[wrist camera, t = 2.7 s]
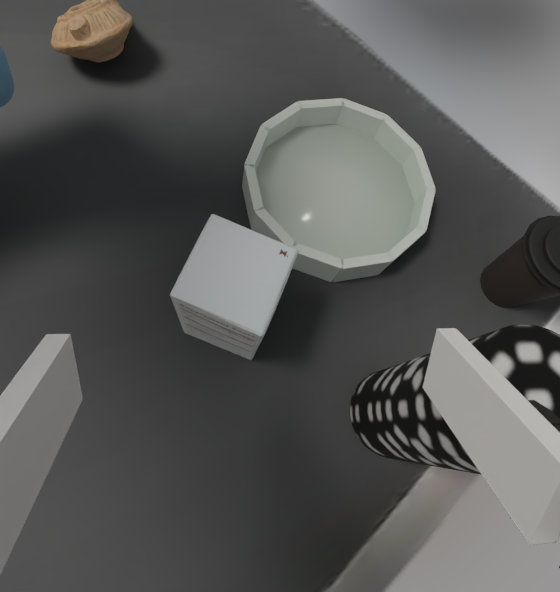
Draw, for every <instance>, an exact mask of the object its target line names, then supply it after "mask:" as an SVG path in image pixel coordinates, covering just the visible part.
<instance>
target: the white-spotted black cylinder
mask: <svg viewBox="0 0 560 592" xmlns="http://www.w3.org/2000/svg"><path fill="white" fill-rule="evenodd" d="M468 341H469V342H470V343H471V344H472V345H473V346H474V347H475V348H476V349H477V350H478V351H479V352H480V353H481V354H482V355H483V356H484V357H485V358H486V359H487V360H488V361H489V362H490V363H491V364H492V365H493V366H494V367H495V368H496V369H497V370H498V371H499V372H500V373H501V374H502V375H503V376H504V377H505V378H506V379H507V380H508V381H509V382H510V383H511V384H512V385H513V386H514V387H515V388H516V389H517V390H518V391H519V392H520V393H521V394H522V395H523V396H524V397H525V398H526V399H527V400H535V401H537V402H538V403H540V404H541V405H543V406H545V407H546V408H548V409H550V410H551V411H552V412H553V413H554V414H555V415H556V416H557V417H558V418H560V335H559V334H557V333H555V332H553V331H551V330H549V329H546V328H542V327H539V326H535V325H525V324H521V325H511V326H508V327H505V328H502V329H499V330H496V331H493V332H490V333H487V334H485V335H482V336H479V337H476V338H473V339H470V340H468ZM430 355H431V353H430V354H427V355H424V356H421V357H419V358H416V359H413V360H410V361H407V362H404V363H401V364H398V365H396V366H393V367H390V368H387V369H384V370H381V371H378V372H376V373H373V374H371V375H369V376H367V377H366V378H365V379H363V380H362V381H361V382H360V383H359V385H358V386H357V388H356V389H355V391H354V394H353V396H352V400H351V405H350V416H351V422H352V425H353V428H354V431H355V433H356V434H357V436H358V438H359V439H360V441H361V442H362V443H363V444H364V445H365V446H366V447H367V448H368V449H370V450H371V451H372V452H374V453H376V454H378V455H380V456H383V457H387V458H392V459H398V460H403V461H409V462H414V463H420V464H426V465H431V466H437V467H443V468H448V469H454V470H460V471H465V472H471V473H476V474H481V473H480V472H479V470H478V469H477V467H476V466H475V464H474V463H473V461H472V460H471V458H470V457H469V455H468V454H467V452H466V451H465V449H464V448H463V447H462V445H461V444H460V442H459V441H458V439H457V438H456V436H455V435H454V433H453V432H452V430H451V429H450V427H449V426H448V424H447V423H446V421H445V420H444V419H443V417H442V416H441V414H440V413H439V411H438V410H437V408H436V407H435V405H434V404H433V402H432V401H431V399H430V398H429V396H428V395H427V393H426V392H425V391H424V389H423V388H422V387H423V383H424V379H425V375H426V371H427V367H428V363H429V359H430Z"/></svg>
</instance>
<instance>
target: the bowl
mask: <svg viewBox="0 0 560 592" xmlns="http://www.w3.org/2000/svg"><path fill="white" fill-rule="evenodd" d="M386 115H387V114H384V113H382V112H379V111H376V110H374V109H371V108H368V107H366V106H363V105H360V104H358V103H355V102H352V101H350V100H347V99H343V98H336V99H322V100H307V101H298V102H295V103H294V104H292V105H291V106H289V107H288V108H286V109H284V110H283V111H281V112H280V113H278V114H277V115H275V116H274V117H272V118H271V119H269V120H267V121H266V122H264V123H263V124H261V126H260V128H259V130H258V133H257V135H256V138H255V140H254V142H253V145H252V147H251V149H250V152H249V154H248V157H247V159H246V161H245V164H244V173H243V183H242V189H243V193H244V198H245V203H246V208H247V212H248V217H249V222H250V227H251V229H252V230H253V231H255V232H257V233H260V234H262V235H264V236H267V237H269V238H271V239H274V240H276V241H279V242H281V243H284V244H286V245H289V246H291V247H294V248H296V249H298V250H299V253H298V255H297V257H296V260H295V262H294V265H293V267H292V269H295V270H298V271H301V272H303V273H306V274H309V275H312V276H315V277H317V278H320V279H323V280H326V281H329V282H338V281H345V280H351V279H357V278H363V277H370V276H376V275H379V274H380V273H381V272H382V271H383V270H384V269H386V268H387V267H388V266H389V265H390V264H391V263H392V262H393V261H394V260H396V259H397V258H398V257H399V256H400V255H401V254H402V253H403V252H405V251H406V250H407V249H408V248H409V247H410V246H411V245H412V244H413V243H414V242H415V241H417V240H418V239H419V238H420V237H421V236H422V235H423V234H424V233H425V232H426V231H427V227H428V222H429V218H430V213H431V209H432V204H433V200H434V195H435V191H436V190H435V189H436V188H435V186H434V183H433V180H432V177H431V174H430V171H429V168H428V166H427V163H426V160H425V157H424V154H423V151H422V149H421V148H420V146H419V145H418V144H417V143H416V142H415V141H414V140H413V139H412V138H411V137H410V136H409V135H408V134H407V133H406V132H405V131H404V130H403V129H402V128H401V127H400V126H399V125H398V124H397V123H396V122H394V121H393V120H392V119H391V118H390V117H389V116H388V115H387V116H386Z"/></svg>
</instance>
